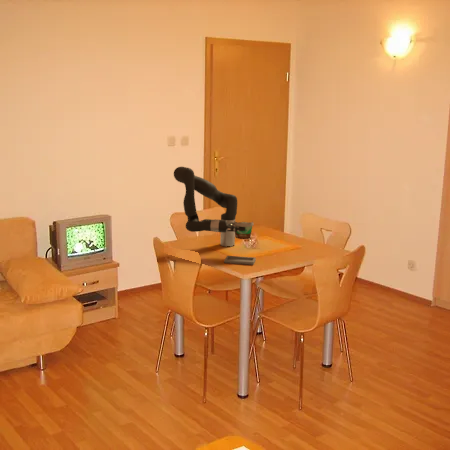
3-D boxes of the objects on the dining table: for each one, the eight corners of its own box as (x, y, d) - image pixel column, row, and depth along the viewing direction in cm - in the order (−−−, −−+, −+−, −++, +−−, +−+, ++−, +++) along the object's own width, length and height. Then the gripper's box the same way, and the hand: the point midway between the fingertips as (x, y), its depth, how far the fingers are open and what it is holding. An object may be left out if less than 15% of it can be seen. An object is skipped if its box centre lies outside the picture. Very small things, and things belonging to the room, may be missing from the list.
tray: (227, 258, 365) (227, 255, 365) (255, 260, 363) (255, 257, 362) (224, 263, 356) (224, 260, 355) (253, 265, 353) (253, 262, 353)
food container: (234, 239, 365) (235, 223, 363) (232, 237, 371) (233, 221, 369) (254, 239, 367) (255, 223, 365) (252, 237, 373) (253, 221, 371)
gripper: (216, 222, 363) (244, 224, 360) (221, 217, 377) (248, 219, 374) (216, 234, 364) (244, 236, 362) (221, 229, 378) (247, 231, 375)
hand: (246, 227), depth 368 cm, fingers closed on food container, 7 cm apart
